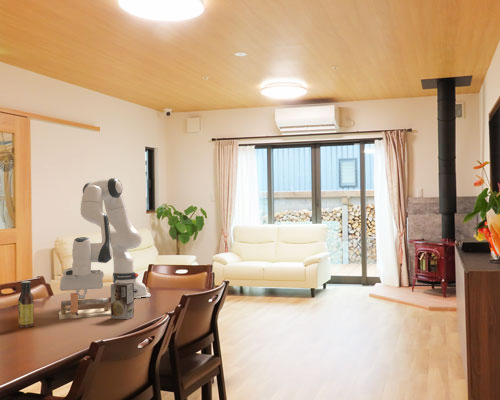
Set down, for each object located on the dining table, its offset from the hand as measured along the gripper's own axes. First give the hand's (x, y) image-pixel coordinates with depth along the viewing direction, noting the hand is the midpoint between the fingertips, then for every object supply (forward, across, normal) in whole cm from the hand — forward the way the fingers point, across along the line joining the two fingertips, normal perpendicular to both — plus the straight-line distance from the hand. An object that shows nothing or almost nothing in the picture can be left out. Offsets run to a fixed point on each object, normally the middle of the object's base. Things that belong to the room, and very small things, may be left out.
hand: (81, 298), depth 262 cm
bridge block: (+5, +4, +3) cm, 7 cm away
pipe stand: (+7, -2, +3) cm, 8 cm away
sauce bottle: (+8, +24, +21) cm, 33 cm away
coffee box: (+7, -18, +17) cm, 25 cm away
